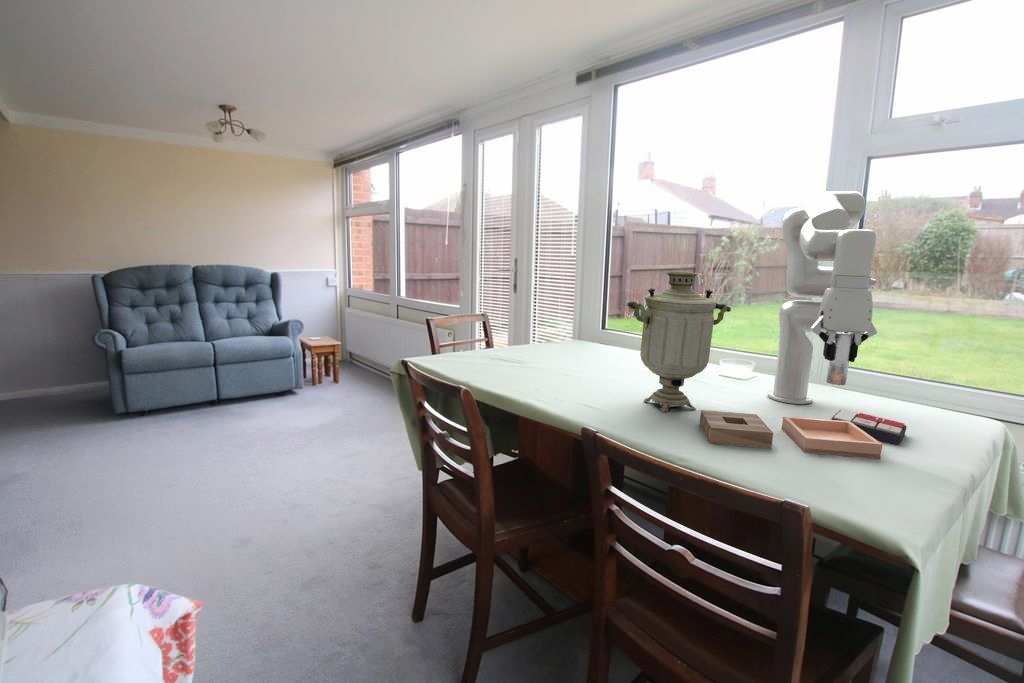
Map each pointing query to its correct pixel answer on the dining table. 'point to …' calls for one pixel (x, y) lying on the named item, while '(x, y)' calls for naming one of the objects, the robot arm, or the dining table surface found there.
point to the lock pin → (840, 359)
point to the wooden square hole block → (735, 429)
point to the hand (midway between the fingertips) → (839, 359)
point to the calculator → (874, 426)
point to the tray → (831, 437)
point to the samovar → (676, 336)
